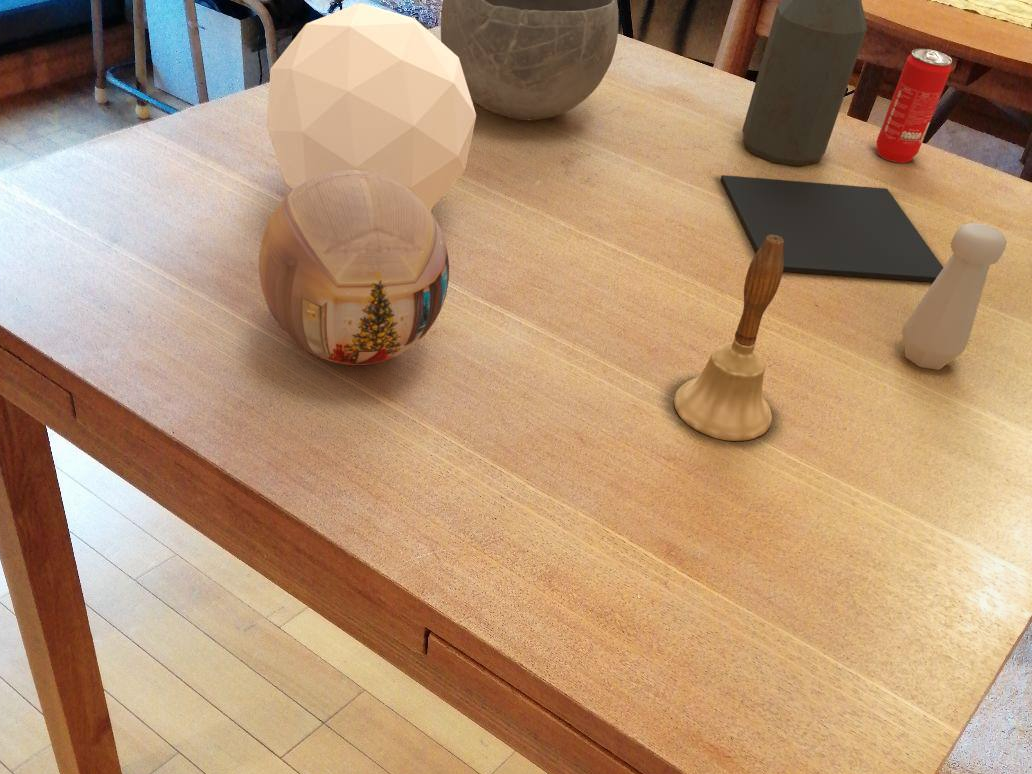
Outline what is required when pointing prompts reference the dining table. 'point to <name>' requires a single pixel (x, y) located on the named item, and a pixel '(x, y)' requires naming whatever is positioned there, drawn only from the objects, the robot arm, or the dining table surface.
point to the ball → (371, 102)
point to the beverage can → (913, 105)
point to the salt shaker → (953, 298)
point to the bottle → (803, 79)
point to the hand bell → (737, 363)
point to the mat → (833, 228)
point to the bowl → (531, 51)
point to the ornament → (353, 267)
